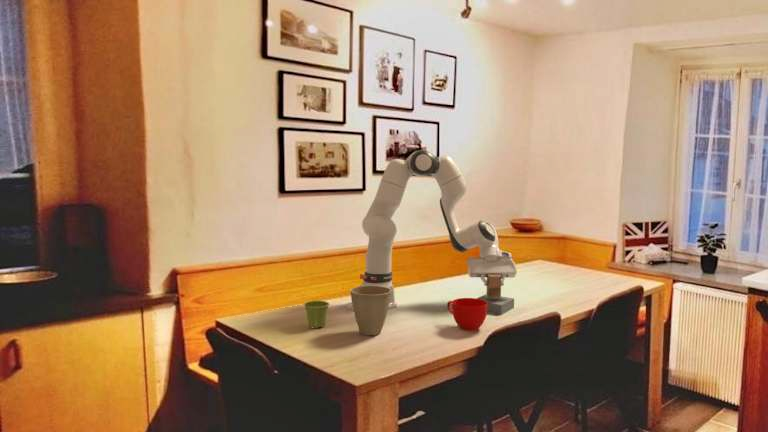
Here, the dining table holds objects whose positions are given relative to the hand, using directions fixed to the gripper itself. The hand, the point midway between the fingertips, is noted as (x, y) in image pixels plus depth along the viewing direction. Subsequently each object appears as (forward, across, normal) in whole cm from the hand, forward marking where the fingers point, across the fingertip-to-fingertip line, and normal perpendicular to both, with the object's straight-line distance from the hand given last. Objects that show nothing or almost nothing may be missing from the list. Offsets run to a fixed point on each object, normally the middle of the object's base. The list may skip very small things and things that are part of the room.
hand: (494, 285), depth 238 cm
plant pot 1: (+25, -72, -10) cm, 76 cm away
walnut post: (+3, 0, +4) cm, 5 cm away
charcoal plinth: (+7, 0, +8) cm, 10 cm away
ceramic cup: (+25, -16, -10) cm, 31 cm away
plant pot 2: (+30, -51, -15) cm, 61 cm away
